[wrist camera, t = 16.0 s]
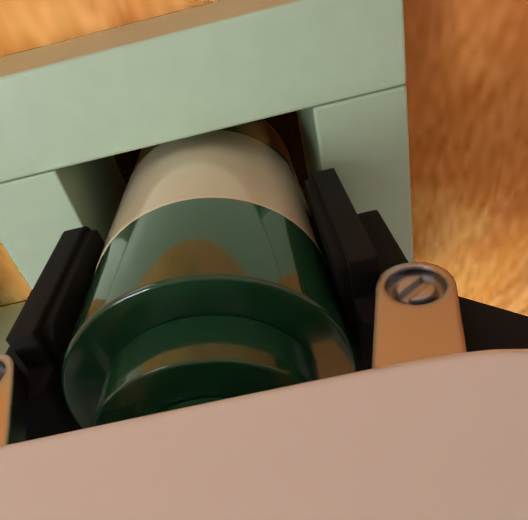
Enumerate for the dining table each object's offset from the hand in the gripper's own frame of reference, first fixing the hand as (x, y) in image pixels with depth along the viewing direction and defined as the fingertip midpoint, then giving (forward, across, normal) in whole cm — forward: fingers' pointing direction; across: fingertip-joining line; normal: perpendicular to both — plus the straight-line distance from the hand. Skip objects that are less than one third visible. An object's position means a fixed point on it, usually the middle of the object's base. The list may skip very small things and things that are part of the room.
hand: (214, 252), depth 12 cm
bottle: (+4, 0, 0) cm, 4 cm away
